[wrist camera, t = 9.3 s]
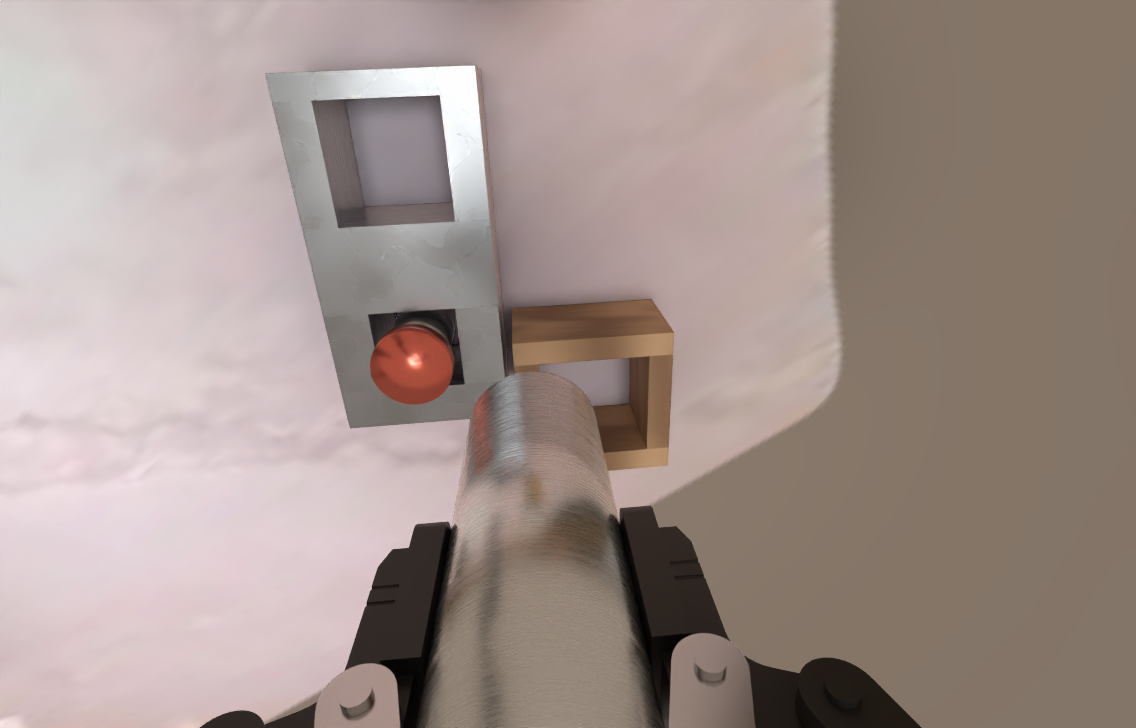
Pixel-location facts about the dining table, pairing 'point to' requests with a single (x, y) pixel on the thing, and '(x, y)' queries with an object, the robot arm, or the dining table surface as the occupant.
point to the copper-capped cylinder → (415, 356)
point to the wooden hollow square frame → (609, 334)
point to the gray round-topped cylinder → (537, 576)
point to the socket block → (395, 235)
